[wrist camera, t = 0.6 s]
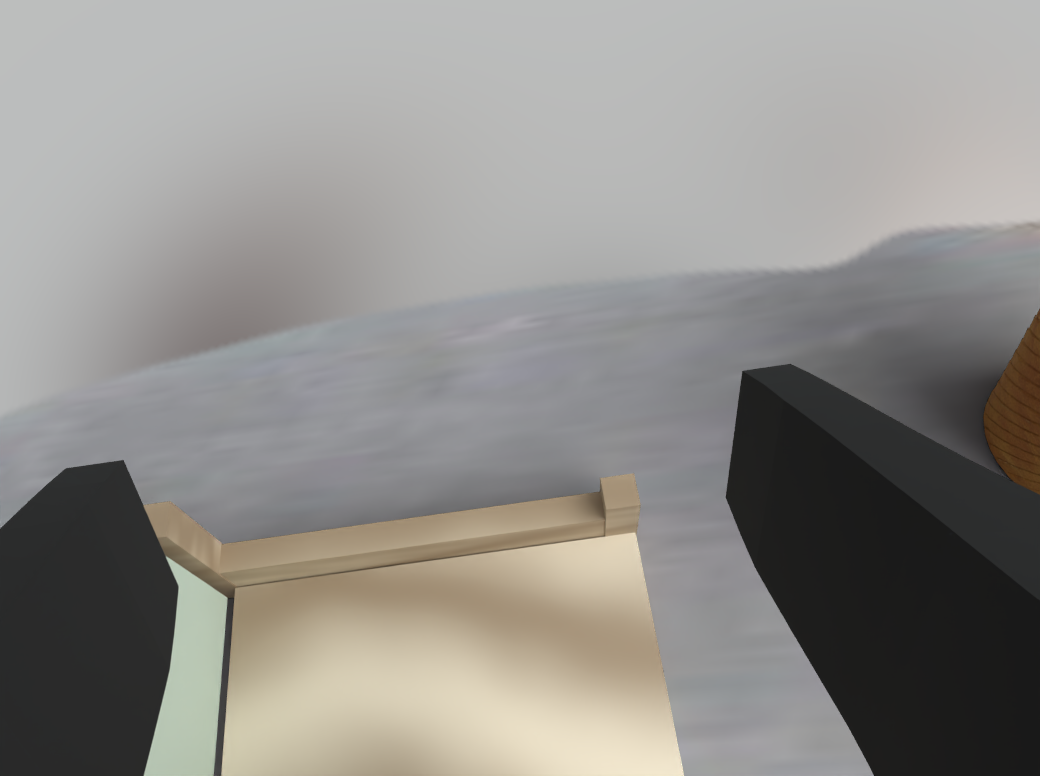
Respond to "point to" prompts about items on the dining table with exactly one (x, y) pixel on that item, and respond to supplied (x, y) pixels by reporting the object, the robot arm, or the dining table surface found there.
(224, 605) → the panel
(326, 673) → the cart bed
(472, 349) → the dining table surface
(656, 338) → the dining table surface
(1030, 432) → the disposable coffee cup
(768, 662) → the dining table surface
